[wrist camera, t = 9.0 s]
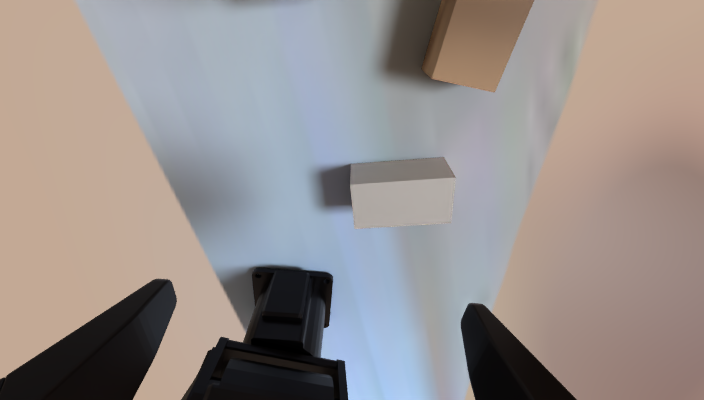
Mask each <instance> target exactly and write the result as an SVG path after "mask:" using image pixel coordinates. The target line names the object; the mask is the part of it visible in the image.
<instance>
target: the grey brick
mask: <svg viewBox="0 0 704 400" xmlns="http://www.w3.org/2000/svg"><path fill="white" fill-rule="evenodd" d="M455 179H456V177H455V175H454V174H453V172H452V170H451V169H450V167H449V165H448V163H447V162H446V160H445V158H444V157H439V158H425V159H412V160H398V161H384V162H370V163H357V164H351V175H350V189H351V199H352V208H353V218H354V228H355V229H362V228H379V227H395V226H412V225H429V224H445V223H451V219H452V209H453V199H454V189H455Z"/></svg>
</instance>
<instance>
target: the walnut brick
mask: <svg viewBox="0 0 704 400" xmlns="http://www.w3.org/2000/svg"><path fill="white" fill-rule="evenodd" d="M533 2H534V0H442V1H441V4H440V7H439V11H438V14H437V18H436V21H435V24H434V28H433V31H432V34H431V38H430V41H429V45H428V48H427V51H426V55H425V58H424V62H423V65H422V68H421V69H422V70H423V71H424V72H425V73H426V74H427V75H428V76H429V77H430V78H431V79H435V80H440V81H444V82H449V83H453V84H458V85H463V86H467V87H472V88H477V89H481V90H486V91H490V92H495V91H496V88H497V86H498V84H499V81H500V79H501V77H502V74H503V72H504V70H505V67H506V65H507V63H508V60H509V58H510V56H511V53H512V51H513V49H514V46H515V44H516V42H517V39H518V37H519V35H520V32H521V30H522V28H523V25H524V23H525V21H526V18H527V16H528V14H529V11H530V9H531V7H532V4H533Z"/></svg>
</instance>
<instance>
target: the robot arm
mask: <svg viewBox="0 0 704 400" xmlns="http://www.w3.org/2000/svg"><path fill="white" fill-rule="evenodd" d="M259 274H260V275H259ZM325 279H328V280H325ZM252 280H253V290H254V299H255V309H254V312H253V315H252V318H251V321H250V324H249V327H248V329H247V332H246V335H245V338H244V341H243V343H242V342H237V341H232V340H229V338H224V337H221V338H220V339H219V341H218V343H217V345H216V347H213V348H212V350H209V351H208V352H207V355H206V357H205V359H204V362H203V364H202V366H201V368H200V371H199V372H198V374H197V376H196V378H195V379H194V381H193V383H192V384H191V386H190V387H189V389H188V390H187V392H186V393H185V395H184V396H183V398H182V399H181V400H348V392H347V381H346V371H345V361H342V360H336V361H335V360H330V359H325V358H321V348H322V339H323V329H324V328H326V327H328V326H329V320H330V308H331V297H332V285H333V276H332V275H331V274H328V273H317V272H304V271H291V270H279V269H266V268H256V269H254V271H253V273H252ZM176 302H177V300H176V295H175V291H174V288H173V285H172V282H171V281H170V280H168V279H155V280H152V281H151V282H150V283H148V284H146V285H145V286H143V287H142V288H140V289H139V290H137V291H135V292H134V293H133V294H131V295H129V296H128V297H126V298H125V299H124V300H122V301H120V302H119V303H117V304H116V305H114V306H113V307H111V308H109V309H108V310H106V311H105V312H103V313H102V314H100V315H99V316H97V317H95V318H94V319H92V320H91V321H90V322H88V323H86V324H85V325H83V326H82V327H80V328H79V329H77V330H76V331H74V332H72V333H71V334H69V335H68V336H66V337H65V338H63V339H62V340H60V341H59V342H57V343H56V344H54V345H52V346H51V347H49V348H48V349H46V350H45V351H43V352H42V353H40V354H39V355H37V356H36V357H34V358H32V359H31V360H30V361H28V362H26V363H25V364H23V365H22V366H20V367H19V368H17V369H16V370H14V371H12V372H11V373H10V374H8V375H7V376H6V378H2V379H0V400H133V398H134V396H135V394H136V392H137V390H138V388H139V386H140V384H141V383H142V381H143V379H144V377H145V375H146V373H147V371H148V369H149V367H150V366H151V364H152V362H153V359H154V357H155V355H156V353H157V351H158V348H159V346H160V343H161V341H162V338H163V336H164V333H165V331H166V329H167V326H168V323H169V321H170V318H171V316H172V314H173V311H174V309H175V306H176ZM461 331H462V337H463V343H464V349H465V355H466V361H467V367H468V372H469V378H470V382H471V386H472V389H473V393H474V397H475V400H576V398H575V397H574V396H573V395H572V394H571V393H570V392H569V391H568V390H567V389H566V388H565V387H564V386H563V385H562V384H561V383H560V382H559V381H558V380H557V379H556V378H555V377H554V376H553V375H552V374H551V373H550V372H549V371H548V370H547V369H546V368H545V367H544V366H543V365H542V364H541V363H540V362H539V361H538V360H537V359H536V358H535V357H534V355H533V354H532V353H531V352H529V350H528V349H527V348H526V347H525V346H524V345H523V344H522V343H521V342H520V341H519V340H518V339H517V338H516V337H515V336H514V335H513V334H512V333H511V332H510V331H509V330H508V329H507V328H506V327H505V326H504V325H503V324H502V323H501V322H500V321H499V320H498V319H497V318H496V317H495V316H494V315H493V314H492V313H491V312H490V311H489V309H488V308H487V307H486V306H484V305H483V304H478V303H470V304H468V306H467V308H466V310H465V312H464V315H463V317H462V319H461Z"/></svg>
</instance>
